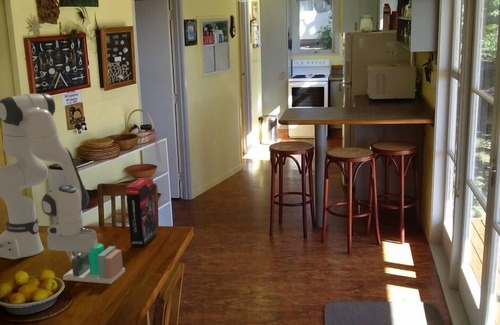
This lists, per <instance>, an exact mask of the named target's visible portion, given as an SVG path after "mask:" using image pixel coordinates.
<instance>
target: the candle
mask: <svg viewBox="0 0 500 325" xmlns="http://www.w3.org/2000/svg"><path fill="white" fill-rule="evenodd" d="M98 246H99V247H97V248H90V253H88V256H89V267H90V273H91V274H99V267H98V255H99V254H100V253H102V252H103V251H104V250H105V249H104V244H102V243H98Z"/></svg>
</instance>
